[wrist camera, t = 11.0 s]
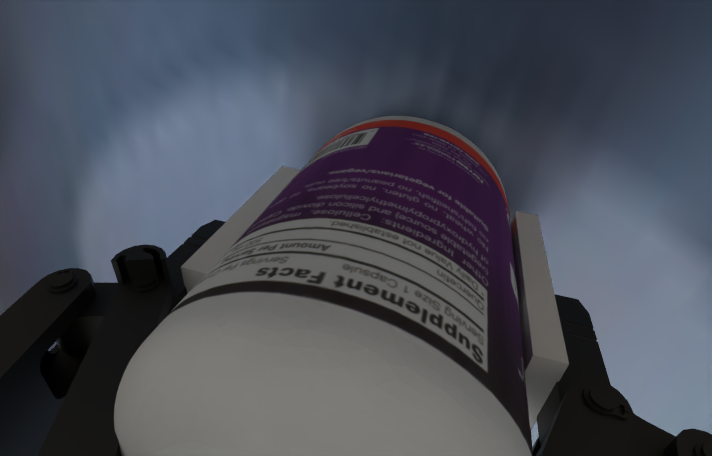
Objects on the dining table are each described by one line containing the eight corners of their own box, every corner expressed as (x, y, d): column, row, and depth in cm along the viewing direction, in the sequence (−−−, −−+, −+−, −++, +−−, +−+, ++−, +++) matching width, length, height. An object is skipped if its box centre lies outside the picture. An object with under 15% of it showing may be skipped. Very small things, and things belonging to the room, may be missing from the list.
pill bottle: (449, 307, 19) (389, 857, 7) (292, 236, 19) (-11, 660, 7) (553, 161, 14) (868, 1066, 3) (345, 68, 14) (-256, 510, 3)
